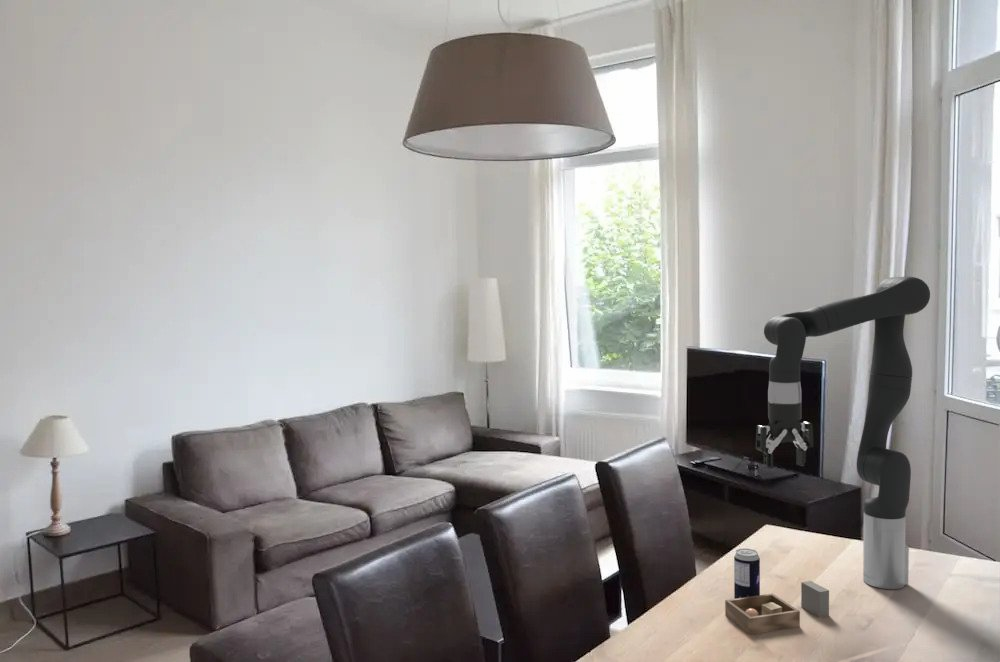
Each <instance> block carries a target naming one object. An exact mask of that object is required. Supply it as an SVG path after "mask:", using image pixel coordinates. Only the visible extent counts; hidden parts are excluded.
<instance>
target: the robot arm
mask: <svg viewBox="0 0 1000 662" xmlns="http://www.w3.org/2000/svg"><path fill="white" fill-rule="evenodd" d="M930 298H931V291H930V287H929V286H928V284H927V283H926V282H925V281H924V280H923V279H920V278H919V277H916V276H894V277H888V278H885V279H883V280H882V281H881V282H880V283H879V284H878V286H877V287H876V290H875V292H873V293H870V294H866V295H861V296H857V297H856V296H855V297H850V298H844V299H840V300H835V301H831V302H828V303H824V304H820V305H817V306H814V307H811V308H809V309H804V310H800V311H794V312H789V313H785V314H780V315H777V316H774V317H772V318H770V319H769V320H768V321H767V322H766V323H765V325H764V328H763V335H764V337H765V339H766V340H767V342H769V343H770V344H772V345H773V346H774V345H775V346H776V351H775V352H776V353H775V356H773V357H772V358H771V359H769V366H768V375H769V376H768V389H767V417H768V420H769V422H768V425H760V424H758V425H756V433H755V449H756V450H757V451H760V452H762V453H763V465H764V467H765V468H766V469H769V470H773V469H774V453H773V452H774V450H775V449H776V447H778V446H779V444H784V443H793V444H794V446H795V447H796V450H795V451H796V452H795V457H796V459H795V460H796V461H795V464H796V465H797V466H800V467H803V466H805V464H806V462H807V449H809V448H813V447H814V444H815V442H814V426H813V423H812V422H808V421H805V420H804V421H803V422H801V420H802V387H801V362H802V358H803V356H804V355H803V354H804V351H805V347H806V342H807V338H808V337H812V338H813V337H815V338H816V337H821V336H825V335H829V334H831V333H835V332H839V331H841V330H845V329H847V328H848V329H849V328H851V327H854V326H856V325H857V326H858V325H860V324H864V323H867V322H871V321H874V333H873V335H874V337H873V347H872V357H871V365H870V372H869V381H868V382H869V383H868V392H867V393H868V394H867V403H866V409H865V418H864V422H863V429H862V434H861V438H860V442H859V445H858V446H859V447H858V451H857V457H856V471H857V475H858V476H859V478H860V479H861V480H862V481H863V482H866V483H869V484H872V485H875V486H878V495H877V497H870V498H866V499H865V500H864V501H863V540H862V541H863V553H862V554H863V555H862V556H863V562H862V563H863V569H862V570H863V573H862V579H863V582H864V583H865V584H867V585H869V586H870V587H871V586H872V587H874V588H879V589H884V590H898V589H902V588H904V587H905V586H907V585H909V574H910V572H909V571H910V570H909V569H910V568H909V567H910V566H909V563H910V561H909V557H910V556H909V554H910V553H909V552H910V548H909V546H908V545H907V544H906V516H907V515H906V514H907V513H906V510H907V508H908V505H909V502H910V490H911V478H912V477H911V474H912V469H911V464H910V460H909V458H908V457H907V455H906V454H905V453H903V452H900V451H897V450H893V449H890V448H889V449H888V448H887V443H888V436H889V431H890V428H891V426H892V424H893V422H894V421H895V419H897V417H898V416H899V414H900V413H901V412H902V410H903V409H904V407H905V406H906V404H907V403H908V401H909V399H910V395H911V389H912V380H913V366H912V365H913V364H912V362H911V359H910V355H909V352H908V350H907V346H906V342H905V338H904V329H905V328H904V327H905V319H906V316H909V315H910V316H911V315H914V314H917V313H919V312H921V311H923V309H925V308H926V307H927V305H928V304H929V302H930ZM801 431H802V432H801ZM800 433H802V437H801V435H800ZM768 434H769V435H768ZM767 435H768V437H767Z"/></svg>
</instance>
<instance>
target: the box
mask: <svg viewBox="0 0 1000 662" xmlns="http://www.w3.org/2000/svg"><path fill="white" fill-rule="evenodd" d="M771 602H773V603H775V604H777V605H779V606H781V607H782V612H781V613H774V614H767V615H762V605H763V604H767V603H771ZM724 603H725V604H724V606H725V607H724V611H725V613H724V615H725V617H727V618H728V619H729V620H730V621H732V622H734V624H736V625H737V626H739V627H740V628H741V629H743V630H744V631H745V632H747V633H748V634H749V635H756V634H761V633H762V634H763V633H769V632H774V631H780V630H787V629H794V628H795V629H797V628H800V627H801V618H800V617H801V616H800V615H801V613H800V612H801V611H800V610H799V609H797V608H796V607H794V606H792V605H791V604H789V602H786V601H785V600H783V599H782V598H780V597H779V596H778V595H776V594H774V593H768V594H766V593H765V594H760V595H759V596H751V597H744V598H737V599H735V598H731V599H725V601H724ZM749 608H753V609H755V610H756V611H757V612H758V614H759V616H753V617H751V616H749V615H748V614H747V613H745V611H746V610H747V609H749Z"/></svg>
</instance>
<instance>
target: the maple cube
mask: <svg viewBox="0 0 1000 662" xmlns="http://www.w3.org/2000/svg"><path fill="white" fill-rule="evenodd" d="M781 612H782V607H781V606H779V605H777V604H775V603H773V602H771V603H767V604H763V605H762V615H767V614H774V613H781Z"/></svg>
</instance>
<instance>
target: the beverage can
mask: <svg viewBox="0 0 1000 662" xmlns="http://www.w3.org/2000/svg"><path fill="white" fill-rule="evenodd" d="M733 557H734V559H733V564H734V565H733V567H734V569H733V573H734V574H733V576H734V578H733V579H734V581H733V582H734V584H733V585H734V586H733V587H734V592H733V593H734V598H733V599H737V598H744V597H751V596H759V595H761V588H760V586H761V582H760V581H761V577H760V576H761V574H760V573H761V572H760V571H761V570H760V569H761V568H760V567H761V564H760V563H761V562H760V561H761V560H760V559H761V558H760V556H759V552H758V551H757V550H755V549H751V548H738V549H736V551H735V553H734V556H733Z"/></svg>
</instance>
